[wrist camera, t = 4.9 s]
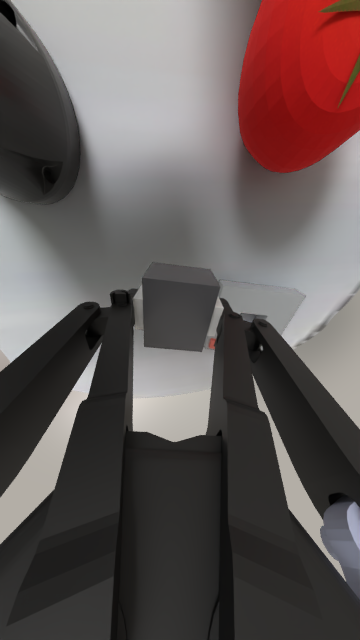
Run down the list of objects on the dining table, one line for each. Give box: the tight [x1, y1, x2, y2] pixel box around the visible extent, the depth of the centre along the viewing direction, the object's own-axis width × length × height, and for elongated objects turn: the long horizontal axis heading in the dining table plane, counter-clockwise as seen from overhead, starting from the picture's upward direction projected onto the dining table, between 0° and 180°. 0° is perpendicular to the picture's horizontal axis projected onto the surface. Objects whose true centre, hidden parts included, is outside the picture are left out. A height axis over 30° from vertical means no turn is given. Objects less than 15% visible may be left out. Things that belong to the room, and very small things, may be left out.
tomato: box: [238, 0, 360, 173], centre depth 11 cm, size 12×12×10 cm
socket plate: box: [204, 280, 306, 350], centre depth 28 cm, size 14×14×4 cm
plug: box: [142, 262, 221, 352], centre depth 15 cm, size 6×5×9 cm
